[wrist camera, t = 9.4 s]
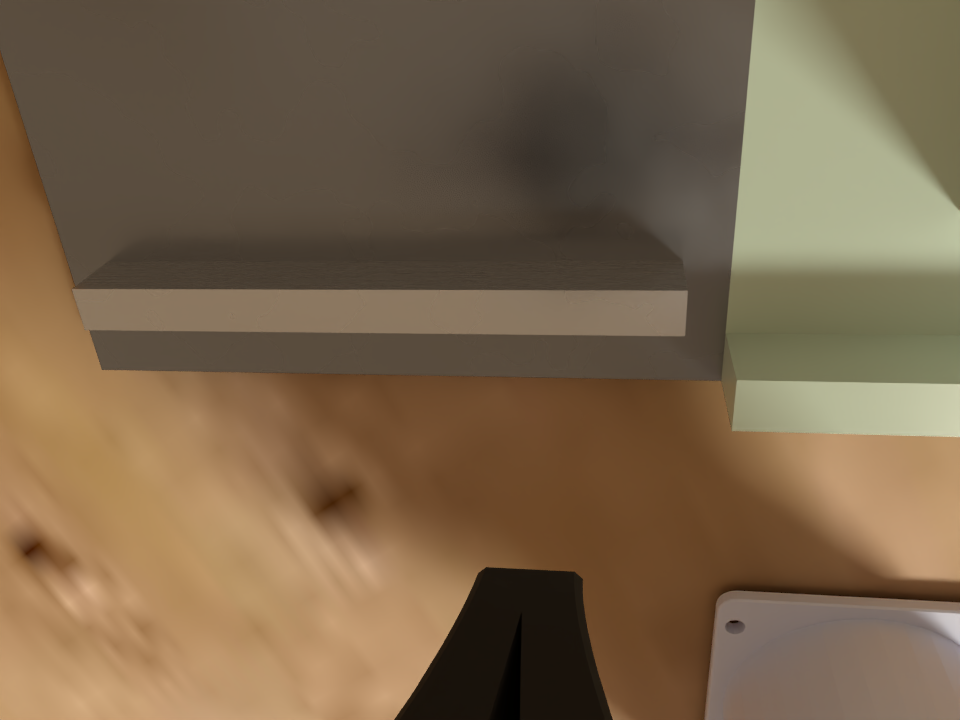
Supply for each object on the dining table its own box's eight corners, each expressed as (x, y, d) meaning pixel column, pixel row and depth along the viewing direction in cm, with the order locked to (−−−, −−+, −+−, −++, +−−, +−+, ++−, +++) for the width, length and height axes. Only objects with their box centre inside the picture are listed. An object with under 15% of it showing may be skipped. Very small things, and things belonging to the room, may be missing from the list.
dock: (716, 358, 20) (729, 417, 18) (122, 350, 22) (68, 401, 20) (771, -276, 14) (798, -302, 12) (-45, -200, 16) (-145, -211, 14)
